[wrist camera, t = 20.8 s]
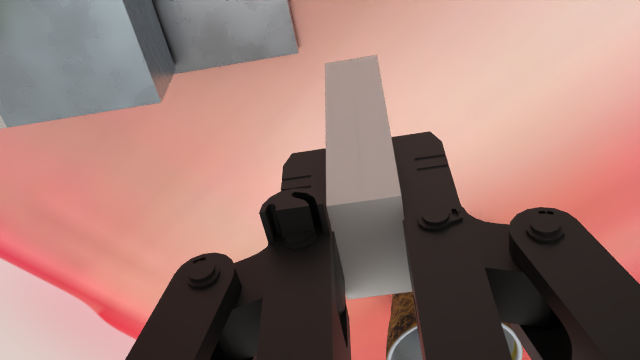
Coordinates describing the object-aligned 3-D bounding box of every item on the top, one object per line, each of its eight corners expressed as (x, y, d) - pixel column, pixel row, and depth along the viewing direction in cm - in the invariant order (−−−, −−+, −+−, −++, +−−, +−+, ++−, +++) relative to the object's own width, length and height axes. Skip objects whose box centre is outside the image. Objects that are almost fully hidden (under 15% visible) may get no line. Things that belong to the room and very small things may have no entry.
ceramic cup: (407, 318, 57) (421, 414, 49) (356, 250, 52) (362, 344, 44) (541, 267, 53) (581, 363, 45) (500, 188, 48) (536, 280, 40)
